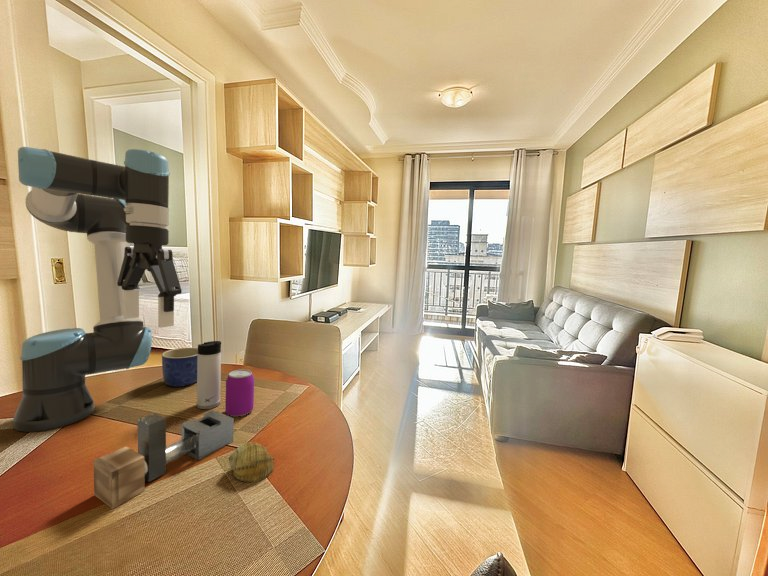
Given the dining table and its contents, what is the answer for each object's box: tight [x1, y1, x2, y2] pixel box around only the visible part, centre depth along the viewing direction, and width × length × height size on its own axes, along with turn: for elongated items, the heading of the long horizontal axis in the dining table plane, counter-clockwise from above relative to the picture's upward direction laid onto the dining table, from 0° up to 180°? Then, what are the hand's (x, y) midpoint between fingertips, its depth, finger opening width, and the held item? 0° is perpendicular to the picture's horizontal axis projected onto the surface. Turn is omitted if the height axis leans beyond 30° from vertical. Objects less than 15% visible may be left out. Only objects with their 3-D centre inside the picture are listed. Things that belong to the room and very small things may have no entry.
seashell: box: [228, 441, 275, 483], centre depth 69 cm, size 10×7×8 cm
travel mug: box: [196, 340, 222, 410], centre depth 97 cm, size 6×7×20 cm
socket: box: [93, 446, 146, 510], centre depth 60 cm, size 5×7×7 cm
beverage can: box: [225, 368, 255, 418], centre depth 94 cm, size 8×8×12 cm
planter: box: [161, 347, 198, 387], centre depth 112 cm, size 12×12×11 cm
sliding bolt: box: [137, 412, 196, 483], centre depth 66 cm, size 16×4×12 cm, turn 154°
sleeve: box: [180, 410, 235, 461], centre depth 77 cm, size 9×6×7 cm
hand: (148, 322), depth 71 cm, fingers open, 13 cm apart
